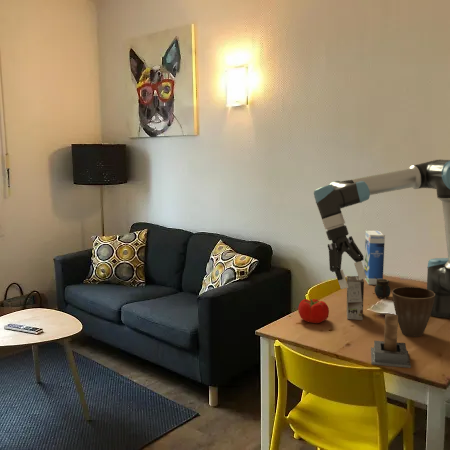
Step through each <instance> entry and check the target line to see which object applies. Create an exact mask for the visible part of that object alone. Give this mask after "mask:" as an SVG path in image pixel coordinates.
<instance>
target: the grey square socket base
mask: <svg viewBox="0 0 450 450" xmlns="http://www.w3.org/2000/svg"><path fill="white" fill-rule="evenodd" d="M370 360H371V365H375V366H387V367H394V368H395V367H396V368H397V367H398V368H407V369H411V368H412V363H411V360H410V356H409V351H408V349H407V347H406V343H405V342H397V351H396V352H394V351H384V340H374V342H373V347H370Z"/></svg>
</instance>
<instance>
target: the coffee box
mask: <svg viewBox="0 0 450 450" xmlns="http://www.w3.org/2000/svg"><path fill="white" fill-rule="evenodd" d="M346 281H347V284H348V288H346V319H347V320H357V321H363V319H364V292H365V279H361V280H359V277H358V275H354V276H353V275H348V276H346Z"/></svg>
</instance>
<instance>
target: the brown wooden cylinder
mask: <svg viewBox="0 0 450 450" xmlns="http://www.w3.org/2000/svg"><path fill="white" fill-rule="evenodd" d="M398 326H399V323H398V316H397V315H396V313H395V314H394V313H385V316H384V331H383V332H384V334H383V337H384V338H383V341H384V351H394V352H396V351H397V343H398Z"/></svg>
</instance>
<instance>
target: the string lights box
mask: <svg viewBox="0 0 450 450" xmlns="http://www.w3.org/2000/svg"><path fill="white" fill-rule="evenodd" d="M364 239H365V241H364V244H365V245H364V271H365V274H366V277H367V278H366V279H364V281H365V282H366V283H367V285H371V286H373V285H374V286H376V284H377V283H376V282H377V279H384V266H385V265H384V263H385V260H384V259H385V242H386V240H385V239H386V235H384V234H383V233H382V232H381V231H380V230H365V238H364ZM374 276H375V277H376V278H377V279H376V278H375V277H374Z"/></svg>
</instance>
